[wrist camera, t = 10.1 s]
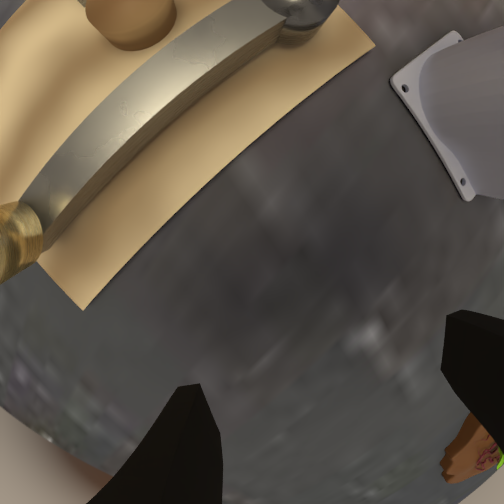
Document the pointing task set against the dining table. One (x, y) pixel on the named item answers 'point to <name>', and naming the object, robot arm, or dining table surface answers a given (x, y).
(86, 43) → the board
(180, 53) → the press lever
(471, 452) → the plant
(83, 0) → the gray block
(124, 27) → the brown cylinder
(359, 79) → the dining table surface
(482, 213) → the dining table surface
